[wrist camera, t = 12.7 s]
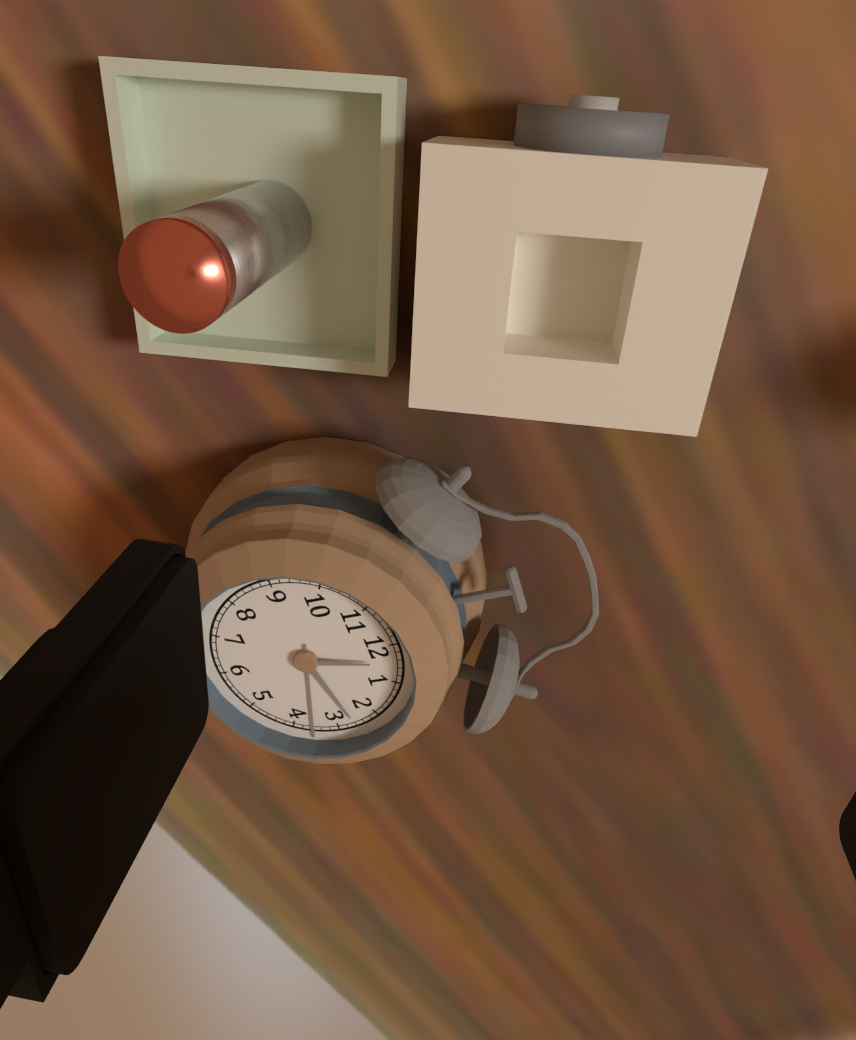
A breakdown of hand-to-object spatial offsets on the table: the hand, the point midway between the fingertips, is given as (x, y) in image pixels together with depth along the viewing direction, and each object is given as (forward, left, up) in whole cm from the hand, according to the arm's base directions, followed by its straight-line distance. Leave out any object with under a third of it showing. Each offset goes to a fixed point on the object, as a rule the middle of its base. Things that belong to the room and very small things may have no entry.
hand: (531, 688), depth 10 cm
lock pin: (-1, -12, -27) cm, 29 cm away
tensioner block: (0, +1, -28) cm, 28 cm away
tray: (-1, -12, -28) cm, 30 cm away
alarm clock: (+17, -6, -28) cm, 33 cm away
